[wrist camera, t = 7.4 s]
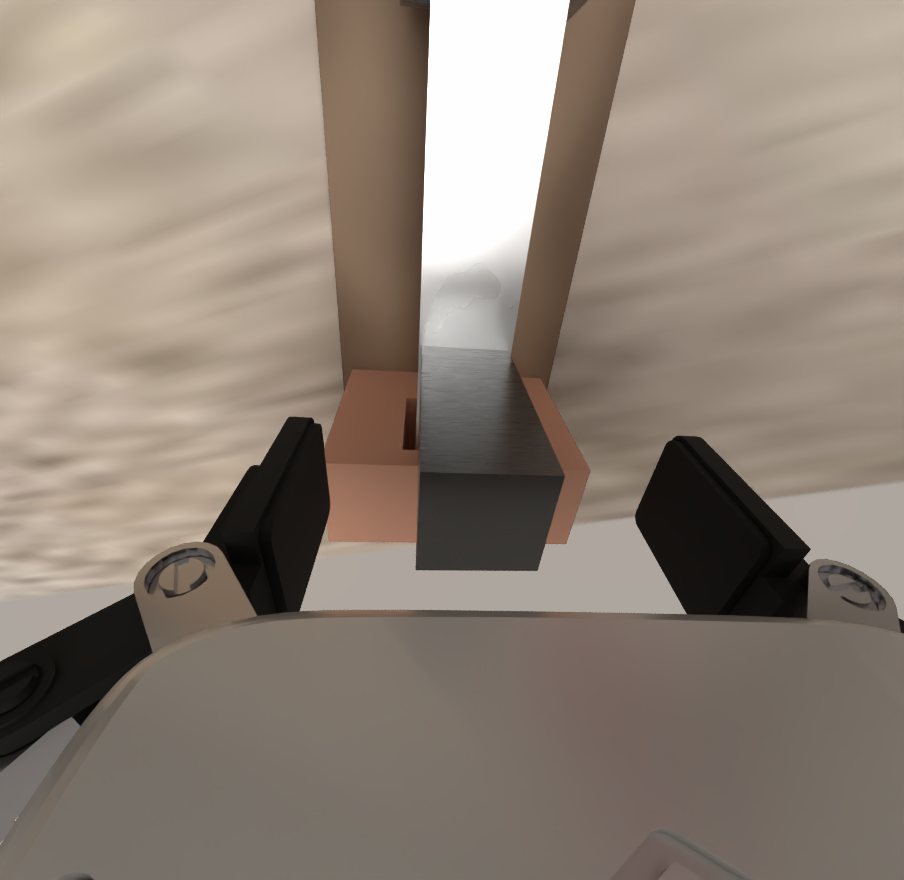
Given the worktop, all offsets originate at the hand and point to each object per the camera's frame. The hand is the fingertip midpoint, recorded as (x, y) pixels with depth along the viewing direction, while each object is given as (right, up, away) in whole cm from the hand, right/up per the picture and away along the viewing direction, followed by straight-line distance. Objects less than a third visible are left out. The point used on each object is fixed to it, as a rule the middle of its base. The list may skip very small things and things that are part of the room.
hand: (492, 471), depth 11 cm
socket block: (-1, +3, +12) cm, 12 cm away
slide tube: (-1, +8, +4) cm, 9 cm away
